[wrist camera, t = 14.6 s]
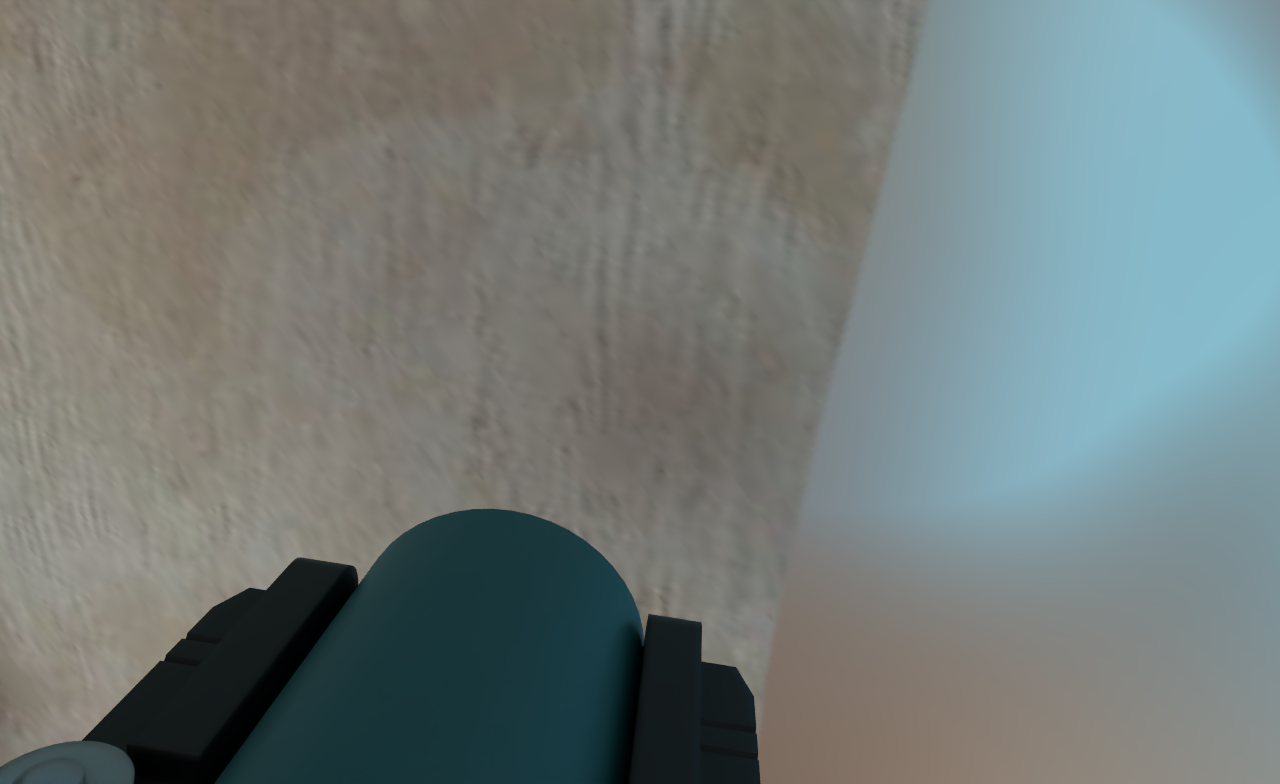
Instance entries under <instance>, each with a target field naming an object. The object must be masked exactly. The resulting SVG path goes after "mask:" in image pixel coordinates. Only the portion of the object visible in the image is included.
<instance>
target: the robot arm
mask: <svg viewBox="0 0 1280 784" xmlns="http://www.w3.org/2000/svg"><path fill="white" fill-rule="evenodd" d="M357 586H358V574H357V570H356V568H355V567H354V566H351V565H345V564H339V563H332V562H326V561H320V560H314V559H307V558H301V557H300V558H297V559H295V560H294V561H293V562H292V563H291V564H290V565H289V566H288V567H287V568H286V569H285V570H284V571H283V572H282V574H281V575H280V576H279V577H278V578H277V579H276V580H275V581H274V582H273V583H272V585H271V586H270V587H269V588H268V589H267V590H260V589H254V588H248V589H246V590H245V591H243V592H241V593H239V594H237V595H235V596H233V597H231V598H230V599H228V600H226V601H224V602H222V603H220V604H218V605H216V606H215V607H213V608H212V609H211V610H210V611H209V612H208V613H207V614H206V615H205V616H204V617H203V618H202V619H201V620H200V621H199V622H198V623H197V624H196V625H195V626H194V627H193V628H192V629H191V630H190V631H189V632H188V633H187V637H186V639H181V640H180V641H179V642H178V643H177V644H176V645H175V646H174V647H173V648H172V649H171V650H170V651H169V652H168V653H167V654H166V658H165V660H164V661H160V662H159V663H158V664H157V665H156V666H155V667H154V668H153V669H152V670H151V671H150V672H149V673H148V674H147V675H146V676H145V677H144V678H143V679H142V680H141V681H140V682H139V683H138V684H137V685H136V686H135V687H134V688H133V689H132V690H131V691H130V692H129V693H128V694H127V695H126V696H125V697H124V698H123V699H122V700H121V701H120V702H119V703H118V704H117V705H116V706H115V707H114V708H113V709H112V710H111V711H110V712H109V713H108V714H107V715H106V716H105V717H104V718H103V720H102V721H101V722H100V723H99V724H98V725H97V726H96V727H95V728H94V729H93V730H92V731H91V732H90V733H89V734H88V735H87V736H86V737H85V738H84V739H83V740H82V741H73V742H65V743H59V744H54V745H50V746H47V747H43V748H40V749H37V750H34V751H32V752H29V753H26V754H24V755H22V756H20V757H18V758H16V759H14V760H12V761H10V762H8V763H6V764H5V765H3V766H1V767H0V784H214V783H215V782H216V780H217V779H218V777H219V776H220V775H221V773H222V772H223V771H224V769H225V768H226V766H227V765H228V764H229V762H230V761H231V760H232V758H233V757H234V755H235V754H236V753H237V751H238V750H239V749H240V747H241V746H242V744H243V743H244V742H245V740H246V739H247V738H248V736H249V735H250V733H251V732H252V731H253V729H254V728H255V727H256V725H257V724H258V722H259V721H260V720H261V718H262V717H263V716H264V714H265V713H266V711H267V710H268V709H269V707H270V706H271V705H272V703H273V702H274V700H275V699H276V698H277V696H278V695H279V694H280V692H281V691H282V689H283V688H284V687H285V685H286V684H287V683H288V681H289V680H290V678H291V677H292V676H293V674H294V673H295V672H296V670H297V669H298V667H299V666H300V665H301V663H302V662H303V661H304V659H305V658H306V656H307V655H308V654H309V652H310V651H311V650H312V648H313V647H314V645H315V644H316V643H317V641H318V640H319V639H320V637H321V636H322V634H323V633H324V632H325V630H326V629H327V628H328V626H329V625H330V623H331V622H332V621H333V619H334V618H335V617H336V615H337V614H338V612H339V611H340V610H341V608H342V607H343V606H344V604H345V603H346V602H347V600H348V599H349V597H350V596H351V595H352V593H353V592H354V591H355V589H356V588H357ZM701 649H702V624H701V622H696V621H689V620H683V619H677V618H671V617H664V616H658V615H652V614H649V615H648V620H647V626H646V632H645V638H644V644H643V652H642V660H641V668H640V677H639V685H638V693H637V701H636V710H635V718H634V726H633V734H632V743H631V751H630V759H629V767H628V776H627V784H760V772H759V761H758V745H757V734H756V719H755V706H754V696H753V694H752V693H751V691H750V689H749V688H748V686H747V684H746V683H745V681H744V680H743V678H742V676H741V675H740V673H739V671H738V670H737V668H736V667H731V666H725V665H719V664H713V663H707V662H701Z"/></svg>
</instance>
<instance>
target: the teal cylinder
mask: <svg viewBox="0 0 1280 784" xmlns="http://www.w3.org/2000/svg"><path fill="white" fill-rule="evenodd" d="M643 644H644V638H643V628H642V624H641V619H640V615H639V612H638V609H637V607H636V604H635V602H634V599H633V597H632V595H631V593H630V591H629V589H628V588H627V586H626V584H625V582H624V581H623V579H622V578H621V577H620V575H619V574H618V573H617V571H616V570H615V569H614V567H613V566H612V565H611V564H610V563H609V562H608V561H607V560H606V559H605V558H604V557H603V555H602V554H601V553H600V552H598V551H597V550H596V549H595V548H594V547H592V546H591V545H590V544H589V543H587V542H586V541H585V540H583V539H582V538H580V537H579V536H577V535H575V534H574V533H572V532H571V531H569V530H567V529H565V528H563V527H561V526H559V525H557V524H555V523H553V522H551V521H548V520H545V519H542V518H539V517H536V516H533V515H530V514H525V513H520V512H516V511H510V510H500V509H472V510H465V511H458V512H452V513H449V514H445V515H442V516H438V517H435V518H432V519H430V520H428V521H425V522H423V523H421V524H418V525H417V526H415V527H413V528H412V529H410V530H408V531H407V532H405V533H403V534H402V535H401V536H400V537H399V538H397V539H396V540H395V541H394V542H392V543H391V544H390V545H389V546H388V547H387V548H386V550H385V551H384V552H383V553H382V554H381V555H380V556H379V558H378V559H377V560H376V562H375V563H374V564H373V566H372V567H371V569H370V570H369V571H368V573H367V574H366V575H365V577H364V578H363V580H362V581H361V582H360V584H359V585H358V586H357V588H356V589H355V591H354V592H353V593H352V595H351V596H350V597H349V599H348V600H347V602H346V603H345V604H344V606H343V607H342V608H341V610H340V611H339V612H338V614H337V615H336V617H335V618H334V619H333V621H332V622H331V623H330V625H329V626H328V628H327V629H326V630H325V632H324V633H323V634H322V636H321V637H320V639H319V640H318V641H317V643H316V644H315V645H314V647H313V648H312V650H311V651H310V652H309V654H308V655H307V656H306V658H305V659H304V661H303V662H302V663H301V665H300V666H299V667H298V669H297V670H296V672H295V673H294V674H293V676H292V677H291V678H290V680H289V681H288V683H287V684H286V685H285V687H284V688H283V689H282V691H281V692H280V694H279V695H278V696H277V698H276V699H275V700H274V702H273V703H272V705H271V706H270V707H269V709H268V710H267V711H266V713H265V714H264V716H263V717H262V718H261V720H260V721H259V722H258V724H257V725H256V727H255V728H254V729H253V731H252V732H251V733H250V735H249V736H248V738H247V739H246V740H245V742H244V743H243V744H242V746H241V747H240V749H239V750H238V751H237V753H236V754H235V755H234V757H233V758H232V760H231V761H230V762H229V764H228V765H227V766H226V768H225V769H224V771H223V772H222V773H221V775H220V776H219V777H218V779H217V780H216V782H215V783H214V784H627V776H628V767H629V759H630V751H631V743H632V734H633V726H634V718H635V710H636V701H637V693H638V685H639V677H640V668H641V660H642V652H643Z"/></svg>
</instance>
